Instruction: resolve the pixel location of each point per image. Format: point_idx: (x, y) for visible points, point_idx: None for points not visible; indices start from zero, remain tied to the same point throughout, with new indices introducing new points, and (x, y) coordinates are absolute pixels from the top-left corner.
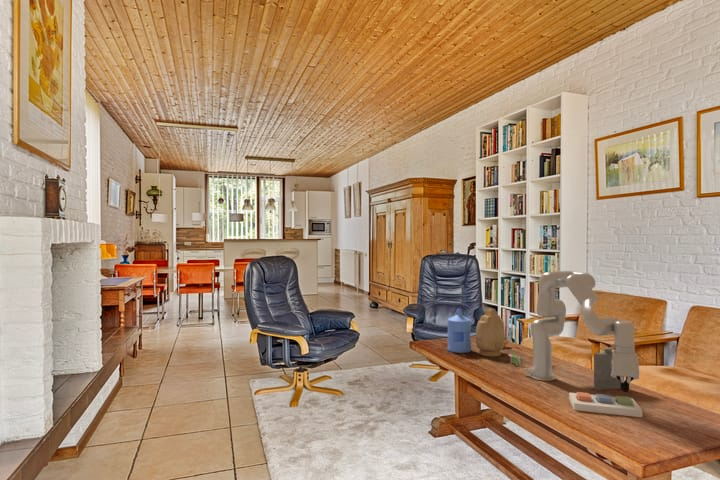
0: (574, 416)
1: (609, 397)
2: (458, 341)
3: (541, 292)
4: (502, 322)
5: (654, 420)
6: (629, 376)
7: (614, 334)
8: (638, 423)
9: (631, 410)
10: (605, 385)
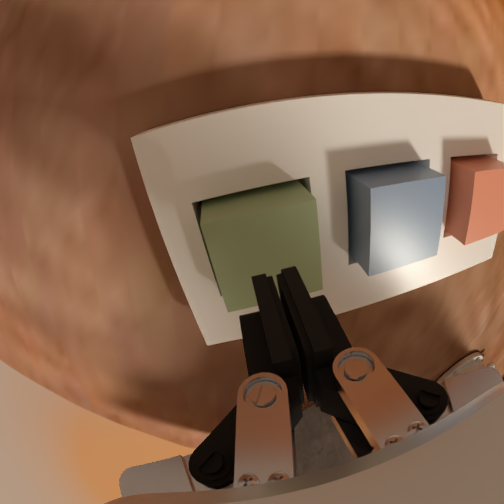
0: (478, 23)
1: (379, 220)
2: None
3: None
4: None
5: (80, 122)
6: (278, 491)
7: None
8: (177, 3)
9: (213, 114)
10: (310, 421)
